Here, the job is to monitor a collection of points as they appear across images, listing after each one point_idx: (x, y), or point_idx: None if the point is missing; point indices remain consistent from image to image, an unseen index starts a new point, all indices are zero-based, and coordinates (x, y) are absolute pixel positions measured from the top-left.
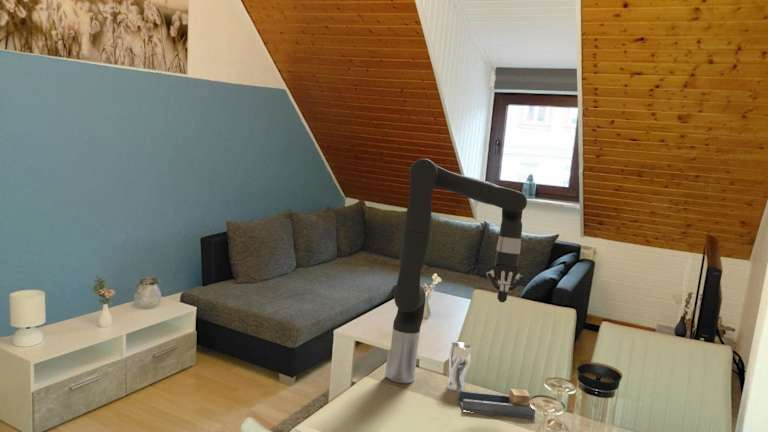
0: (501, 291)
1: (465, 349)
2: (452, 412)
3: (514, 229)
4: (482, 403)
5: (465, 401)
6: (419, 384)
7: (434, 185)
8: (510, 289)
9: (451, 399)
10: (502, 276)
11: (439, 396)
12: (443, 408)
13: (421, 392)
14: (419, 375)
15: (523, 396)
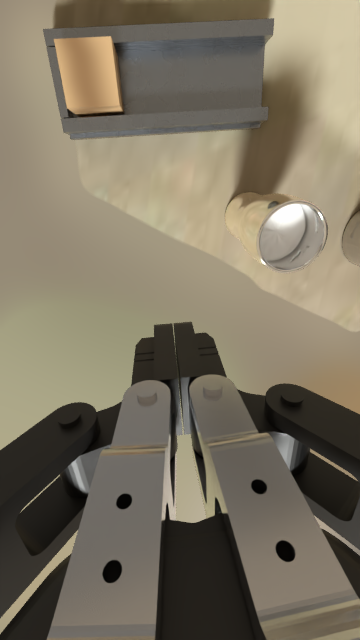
0: (204, 380)
1: (284, 202)
2: (293, 18)
3: None
4: (214, 22)
5: (268, 20)
6: (334, 212)
7: None
8: (95, 410)
9: (274, 129)
10: (315, 600)
11: (302, 141)
12: (312, 45)
13: (344, 155)
14: (319, 272)
15: (79, 38)
